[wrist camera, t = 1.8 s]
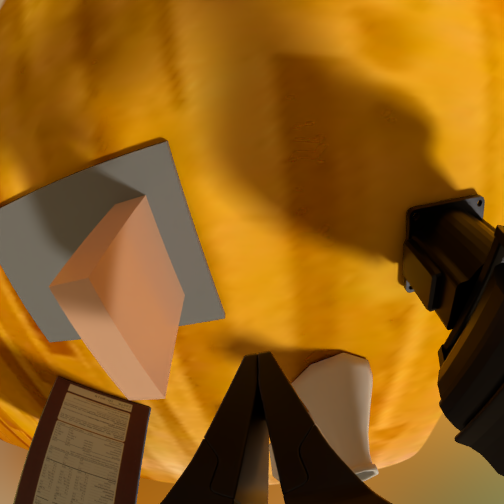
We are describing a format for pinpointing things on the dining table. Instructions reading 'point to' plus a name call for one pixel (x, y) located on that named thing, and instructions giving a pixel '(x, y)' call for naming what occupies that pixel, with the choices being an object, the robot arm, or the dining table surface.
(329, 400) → the flask
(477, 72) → the dining table surface
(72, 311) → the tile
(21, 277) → the mat
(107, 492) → the protein box
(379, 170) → the dining table surface
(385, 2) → the dining table surface
